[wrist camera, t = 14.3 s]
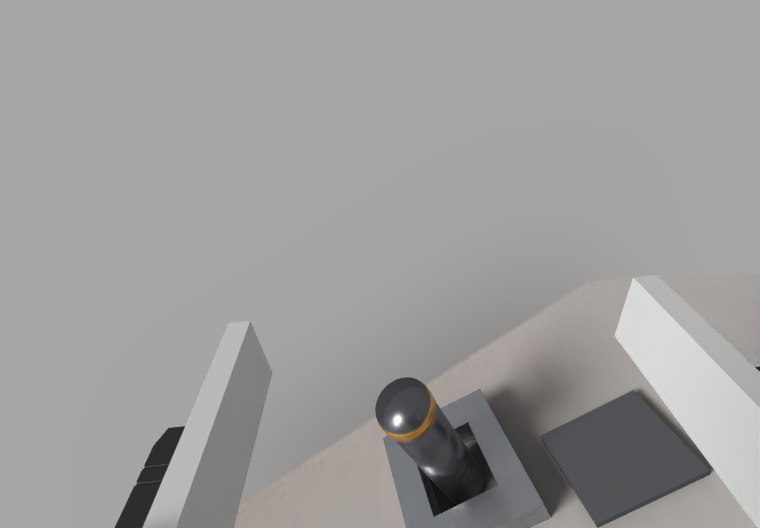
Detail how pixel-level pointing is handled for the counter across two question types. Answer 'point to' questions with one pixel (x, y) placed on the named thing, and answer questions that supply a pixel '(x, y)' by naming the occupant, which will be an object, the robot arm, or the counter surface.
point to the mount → (622, 458)
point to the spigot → (429, 438)
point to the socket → (487, 510)
